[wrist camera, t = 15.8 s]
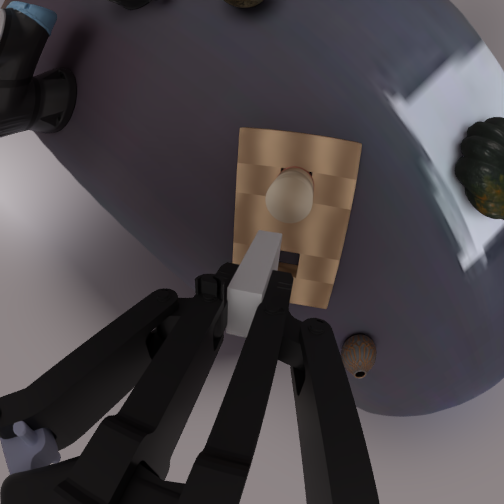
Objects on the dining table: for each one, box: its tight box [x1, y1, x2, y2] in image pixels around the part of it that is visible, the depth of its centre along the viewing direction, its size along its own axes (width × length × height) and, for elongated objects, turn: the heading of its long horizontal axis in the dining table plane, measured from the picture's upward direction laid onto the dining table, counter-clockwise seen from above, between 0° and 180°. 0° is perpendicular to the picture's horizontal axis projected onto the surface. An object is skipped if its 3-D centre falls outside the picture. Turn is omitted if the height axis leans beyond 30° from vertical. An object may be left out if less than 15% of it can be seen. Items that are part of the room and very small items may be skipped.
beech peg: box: [266, 166, 314, 223], centre depth 33 cm, size 5×5×12 cm
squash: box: [455, 117, 504, 220], centre depth 24 cm, size 14×15×15 cm
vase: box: [341, 334, 376, 378], centre depth 45 cm, size 7×7×9 cm
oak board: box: [233, 127, 362, 309], centre depth 40 cm, size 16×26×4 cm, turn 175°
